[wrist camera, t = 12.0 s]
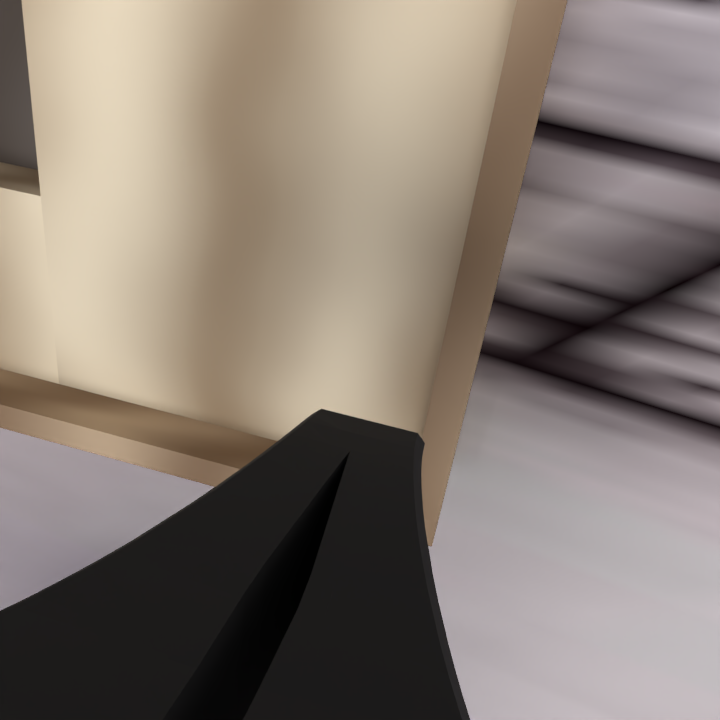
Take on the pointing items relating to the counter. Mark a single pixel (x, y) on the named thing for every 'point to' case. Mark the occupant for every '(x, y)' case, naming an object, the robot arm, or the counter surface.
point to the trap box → (256, 217)
